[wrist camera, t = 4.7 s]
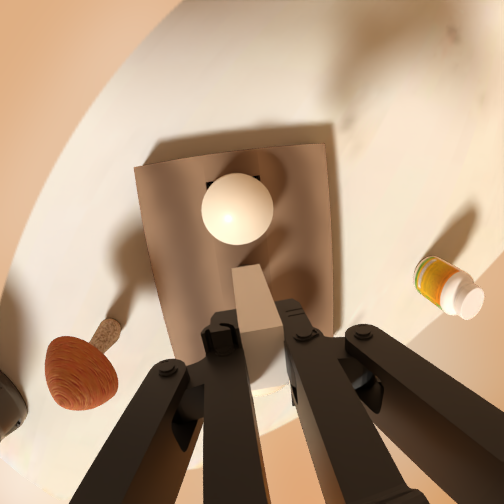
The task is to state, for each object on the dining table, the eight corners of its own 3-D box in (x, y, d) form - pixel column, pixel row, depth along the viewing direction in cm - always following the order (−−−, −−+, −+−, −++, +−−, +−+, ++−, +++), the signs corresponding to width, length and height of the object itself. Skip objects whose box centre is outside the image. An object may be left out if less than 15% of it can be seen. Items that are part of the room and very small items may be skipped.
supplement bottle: (407, 291, 37) (449, 326, 27) (418, 252, 35) (467, 279, 26) (435, 294, 37) (477, 325, 28) (446, 257, 36) (493, 283, 27)
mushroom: (76, 289, 32) (12, 360, 18) (137, 295, 33) (93, 378, 19) (86, 345, 34) (39, 425, 20) (142, 353, 35) (113, 443, 21)
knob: (209, 234, 32) (207, 249, 26) (201, 176, 30) (196, 179, 25) (267, 226, 32) (276, 239, 27) (261, 168, 30) (269, 170, 25)
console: (184, 364, 36) (181, 379, 33) (141, 166, 29) (133, 167, 26) (325, 343, 37) (332, 357, 34) (315, 144, 30) (324, 143, 27)
